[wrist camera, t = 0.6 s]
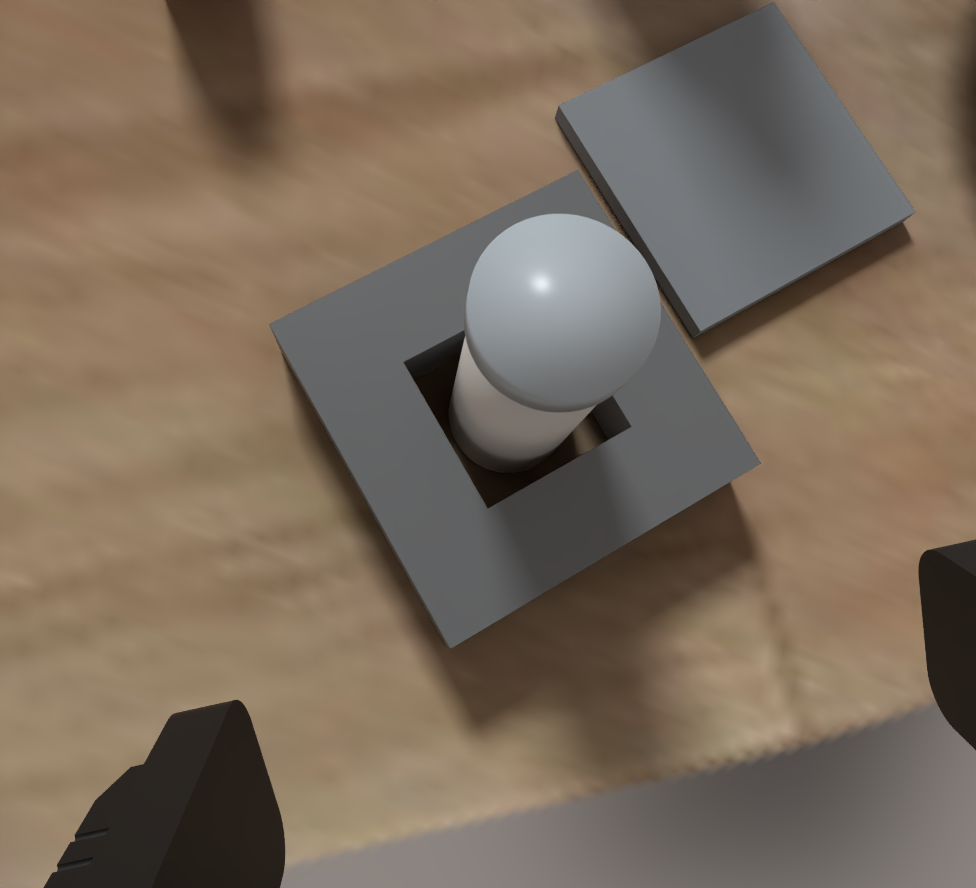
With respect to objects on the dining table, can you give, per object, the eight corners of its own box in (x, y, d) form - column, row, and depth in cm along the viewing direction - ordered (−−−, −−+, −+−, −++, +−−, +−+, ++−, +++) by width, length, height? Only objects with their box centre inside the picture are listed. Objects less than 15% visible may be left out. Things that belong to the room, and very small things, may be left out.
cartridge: (420, 390, 37) (431, 266, 24) (529, 332, 38) (597, 182, 25) (484, 500, 37) (531, 434, 23) (593, 439, 38) (697, 342, 24)
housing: (281, 351, 37) (269, 324, 34) (562, 208, 39) (577, 169, 36) (445, 645, 35) (450, 648, 32) (728, 477, 38) (761, 463, 34)
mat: (554, 118, 40) (558, 105, 39) (765, 16, 42) (773, 2, 42) (693, 338, 39) (700, 331, 38) (903, 221, 41) (915, 211, 40)
